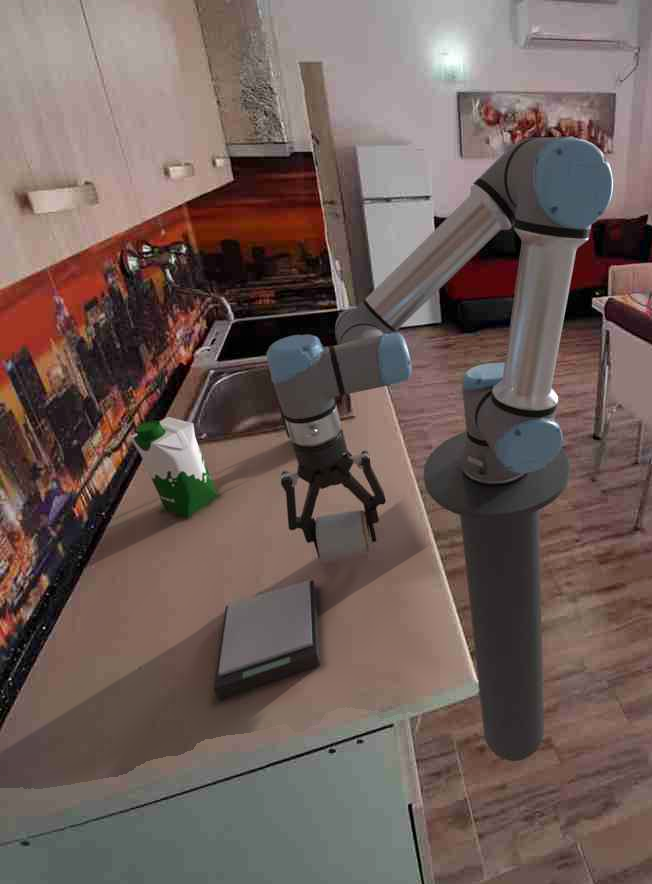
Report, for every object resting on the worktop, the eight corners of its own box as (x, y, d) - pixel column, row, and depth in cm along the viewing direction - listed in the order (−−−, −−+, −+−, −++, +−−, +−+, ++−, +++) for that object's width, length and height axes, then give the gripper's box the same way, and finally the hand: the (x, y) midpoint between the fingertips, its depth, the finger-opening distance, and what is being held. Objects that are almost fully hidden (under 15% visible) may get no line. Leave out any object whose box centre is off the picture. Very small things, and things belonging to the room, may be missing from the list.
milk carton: (157, 511, 104) (120, 428, 95) (197, 485, 111) (165, 405, 102) (186, 522, 100) (150, 436, 91) (225, 494, 108) (195, 412, 99)
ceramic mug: (374, 559, 85) (366, 524, 82) (323, 574, 83) (313, 538, 80) (369, 519, 94) (361, 486, 91) (323, 531, 92) (313, 497, 89)
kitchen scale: (316, 590, 84) (312, 576, 82) (320, 665, 72) (315, 651, 70) (230, 616, 80) (224, 603, 79) (219, 700, 68) (212, 685, 67)
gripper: (241, 466, 72) (283, 580, 82) (389, 429, 78) (411, 540, 88) (245, 439, 78) (284, 548, 88) (382, 407, 84) (403, 513, 94)
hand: (347, 544), depth 88 cm, fingers closed on ceramic mug, 8 cm apart
